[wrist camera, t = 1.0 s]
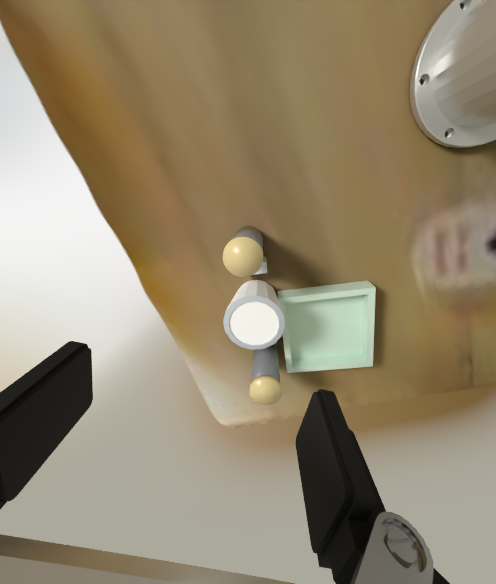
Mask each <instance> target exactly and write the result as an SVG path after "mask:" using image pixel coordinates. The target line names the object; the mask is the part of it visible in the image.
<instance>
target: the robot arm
mask: <svg viewBox="0 0 496 584" xmlns="http://www.w3.org/2000/svg"><path fill="white" fill-rule="evenodd" d="M419 81H421V84H420V82H419ZM410 100H411V107H412V111H413V115H414V118H415V120H416V122H417V124H418V126H419V128H420V129H421V130H422V131H423V132H424V133H425V135H426V136H427V137H429V138H430V139H431V140H433V141H434V142H436V143H438V144H441V145H443V146H446V147H453V148H467V147H473V146H478V145H482V144H486V143H488V142H491V141H494V140H496V0H454V1H453V2H452V3H451V4H450V5H449V6H448V7H447V8H446V9H445V10H444V11H443V12H442V14H441V15H440V16H439V18H438V19H437V20H436V21H435V23H434V24H433V25H432V27H431V28H430V30H429V32H428V33H427V35H426V37H425V39H424V40H423V42H422V44H421V47H420V49H419V52H418V54H417V56H416V59H415V63H414V67H413V70H412V75H411V84H410ZM445 134H446V135H445ZM92 400H93V393H92V361H91V349H90V348H88V346H87V344H84V343H79V342H74V341H70V342H68V343H66V344H65V345H64V346H63V347H61V348H60V349H58V350H57V351H56V352H54V353H53V354H52V355H51V356H49V357H48V358H46V359H45V360H44V361H42V362H41V363H40V364H38V365H37V366H36V367H34V368H33V369H31V370H30V371H29V372H28V373H26V374H25V375H23V376H22V377H21V378H19V379H18V380H17V381H15V382H14V383H13V384H11V385H10V386H9V387H7V388H6V389H5V390H3V391H2V392H0V509H1V508H2V507H3V506H4V504H5V503H6V502H7V501H11V500H12V499H14V498H15V497H16V496H17V495H18V494H19V492H20V491H21V490H22V489H23V488H24V486H25V485H26V484H27V483H28V482H29V480H30V479H31V478H32V477H33V475H34V474H35V473H36V472H37V471H38V469H39V468H40V467H41V466H42V464H43V463H44V462H45V460H47V458H48V457H49V456H50V455H51V453H52V452H53V451H54V450H55V449H56V447H57V446H58V445H59V444H60V442H61V441H62V440H63V439H64V437H65V436H66V435H67V434H68V433H69V432H70V430H71V429H72V428H73V427H74V425H75V424H76V423H77V422H78V420H79V419H80V418H81V417H82V415H83V414H84V413H85V412H86V411H87V410H88V408H89V407H90V405H91V403H92ZM296 449H297V456H298V462H299V469H300V476H301V482H302V489H303V495H304V502H305V508H306V515H307V521H308V527H309V534H310V540H311V546H312V550H313V552H314V553H317V555H318V561H319V567H324V568H330V569H332V574H333V579H334V581H335V583H336V584H450V583H449V582H447V580H446V579H445V578H443V576H441V575H440V574H439V573H438V572H437V571H436V570H435V569H434V568H433V560H432V557H431V554H430V551H429V549H428V547H427V545H426V543H425V541H424V539H423V538H422V537H421V536H420V534H419V533H418V531H417V530H416V529H415V528H414V527H413V526H412V525H411V524H410V523H409V522H408V521H407V520H405V519H404V518H402V517H401V516H399V515H397V514H394V513H392V512H386V510H385V508H384V505H383V503H382V501H381V498H380V496H379V493H378V491H377V488H376V486H375V484H374V481H373V479H372V476H371V474H370V472H369V469H368V467H367V464H366V462H365V460H364V457H363V454H362V452H361V450H360V447H359V445H358V442H357V440H356V438H355V435H354V433H353V432H352V431H351V430H350V429H349V428H348V426H347V424H346V421H345V418H344V416H343V413H342V411H341V408H340V406H339V403H338V401H337V398H336V396H335V394H334V392H332V391H327V390H322V389H319V390H318V392H314V393H313V395H312V398H311V400H310V403H309V405H308V408H307V411H306V413H305V416H304V418H303V421H302V424H301V426H300V429H299V431H298V434H297V437H296ZM0 584H294V583H289V582H283V581H278V580H273V579H268V578H262V577H256V576H250V575H245V574H238V573H232V572H227V571H221V570H215V569H209V568H204V567H198V566H192V565H186V564H180V563H174V562H168V561H162V560H155V559H149V558H143V557H137V556H131V555H125V554H119V553H113V552H107V551H100V550H95V549H89V548H82V547H76V546H70V545H63V544H56V543H50V542H44V541H38V540H32V539H25V538H19V537H13V536H6V535H0Z"/></svg>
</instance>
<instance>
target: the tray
mask: <svg viewBox="0 0 496 584" xmlns="http://www.w3.org/2000/svg"><path fill="white" fill-rule="evenodd" d="M375 292H376V287H375V286H374V285H372V284H371V283H370V282H369V281H368V280H367V281H359V282H350V283H342V284H333V285H325V286H317V287H308V288H300V289H291V290H283V291H277V293H278V301H279V303H280V306H281V309H282V312H283V315H284V322H285V328H284V330H283V333H282V335H283V343H284V351H285V359H286V368H287V373H294V372H307V371H319V370H332V369H345V368H358V367H371V366H373V348H374V320H375Z"/></svg>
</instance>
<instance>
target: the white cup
mask: <svg viewBox="0 0 496 584" xmlns="http://www.w3.org/2000/svg"><path fill="white" fill-rule="evenodd" d="M223 323H224V328H225V332H226V333H227V335H228V336H229V338H230V339H231V341H233V342H234V343H236V344H237V345H239V346H240V347H243V348H247V349H251V350H255V349H264V348H266V347H269V346H271V345H273V344H274V343H275V342H276V341H277V340H278V339H279V338H280V337H281V336H282V333H283V330H284V328H285V322H284V315H283V312H282V309H281V306H280V303H279V301H278V298H277V295H276V293H275V291H274V289H273V287H272V286H270V285H269V284H268V283H267V282H264V281H260V280H251V281H248V282H246V283H244V284H243V285H242V286H241V287H240V288H239V289H238V291H237V292H236V294H235V296H234V298H233V299H232V301H231V303H230V305H229V306H228V308H227V310H226V312H225V316H224V320H223Z"/></svg>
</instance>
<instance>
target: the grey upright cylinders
mask: <svg viewBox="0 0 496 584" xmlns="http://www.w3.org/2000/svg"><path fill="white" fill-rule="evenodd" d="M223 261H224V264H225V266H226V268H227V269H228V270H229V271H230V272H231V273H232V274H234V275H236V276H238V277H248V276H251V275H255V274H263V273H267V261H266V257H263V236H262V234H261V232H260V231H259V230H258V229H257V228H255V227H251V226H247V227H243V228H242V229H240V230H239V231H238V233H237V234H236V235H235V237H234V238H233V239H232V240H231V241H230V242H229V243H228V244H227V245H226V247H225V249H224V252H223ZM276 343H277V341H276V342H275V343H274V344H273V345H271V346H269V347H266V348H264V349H255V350H254V353H253V366H252V378H251V384H250V396H251V398H252V399H253V400H254V401H255V402H257V403H259V404H263V405H270V404H273V403H275V402H277V401H278V400H279V399H280V398H281V395H282V389H281V384H280V374H279V360H278V347H277V344H276Z"/></svg>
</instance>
